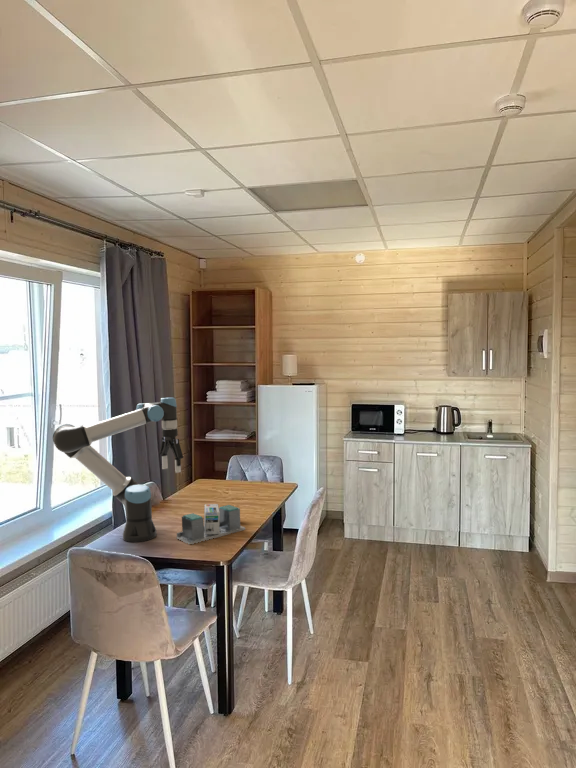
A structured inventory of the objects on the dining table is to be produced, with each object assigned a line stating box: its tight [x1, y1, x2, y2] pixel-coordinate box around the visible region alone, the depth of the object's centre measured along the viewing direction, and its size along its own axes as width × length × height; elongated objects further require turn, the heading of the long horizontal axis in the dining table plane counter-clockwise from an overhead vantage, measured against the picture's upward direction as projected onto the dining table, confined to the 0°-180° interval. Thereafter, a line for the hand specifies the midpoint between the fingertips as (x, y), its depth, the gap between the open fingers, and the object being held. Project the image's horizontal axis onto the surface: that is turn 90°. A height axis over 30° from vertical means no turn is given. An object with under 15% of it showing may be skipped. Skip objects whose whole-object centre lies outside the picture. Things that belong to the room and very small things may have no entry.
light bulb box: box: [203, 503, 220, 534], centre depth 259 cm, size 11×7×11 cm, turn 11°
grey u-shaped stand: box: [176, 504, 246, 545], centre depth 260 cm, size 30×12×11 cm, turn 130°
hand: (171, 470), depth 278 cm, fingers open, 13 cm apart
